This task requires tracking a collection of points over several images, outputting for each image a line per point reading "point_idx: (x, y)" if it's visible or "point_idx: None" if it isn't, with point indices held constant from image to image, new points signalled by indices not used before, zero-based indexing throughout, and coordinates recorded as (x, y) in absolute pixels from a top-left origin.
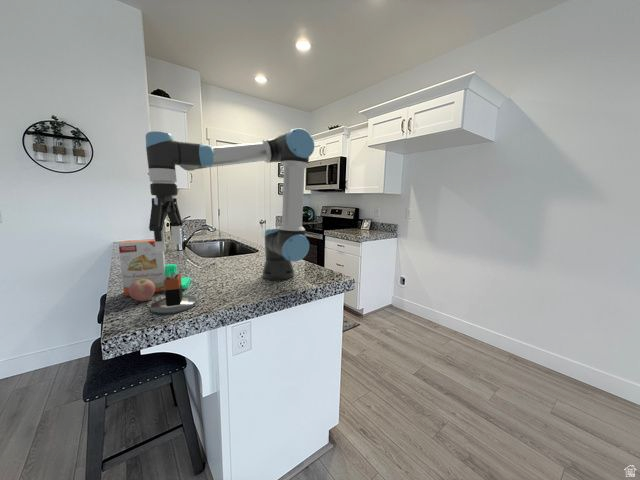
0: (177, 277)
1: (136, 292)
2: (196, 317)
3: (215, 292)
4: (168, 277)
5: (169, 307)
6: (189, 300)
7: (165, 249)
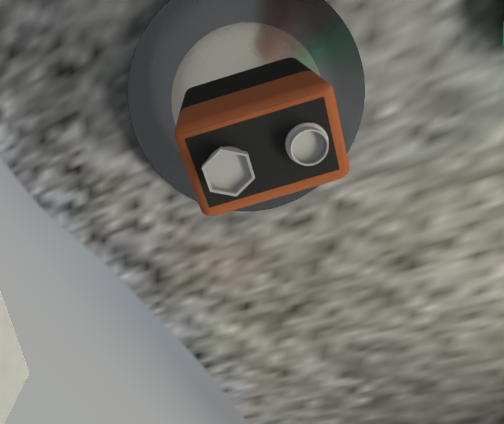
0: (239, 201)
1: None
2: (102, 259)
3: (418, 238)
4: (245, 132)
5: (173, 112)
6: None
7: (6, 393)
